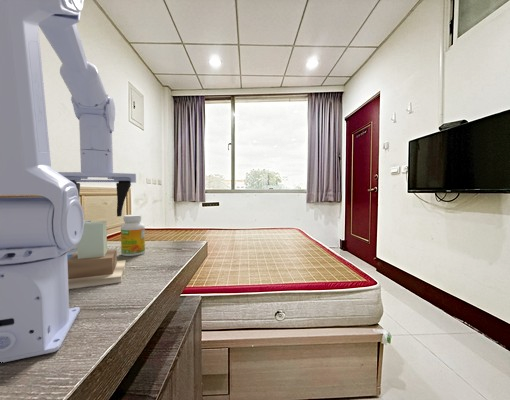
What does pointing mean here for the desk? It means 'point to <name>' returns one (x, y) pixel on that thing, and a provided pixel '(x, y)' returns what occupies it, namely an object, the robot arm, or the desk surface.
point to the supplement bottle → (132, 236)
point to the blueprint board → (99, 279)
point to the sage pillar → (93, 240)
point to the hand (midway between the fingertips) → (98, 216)
